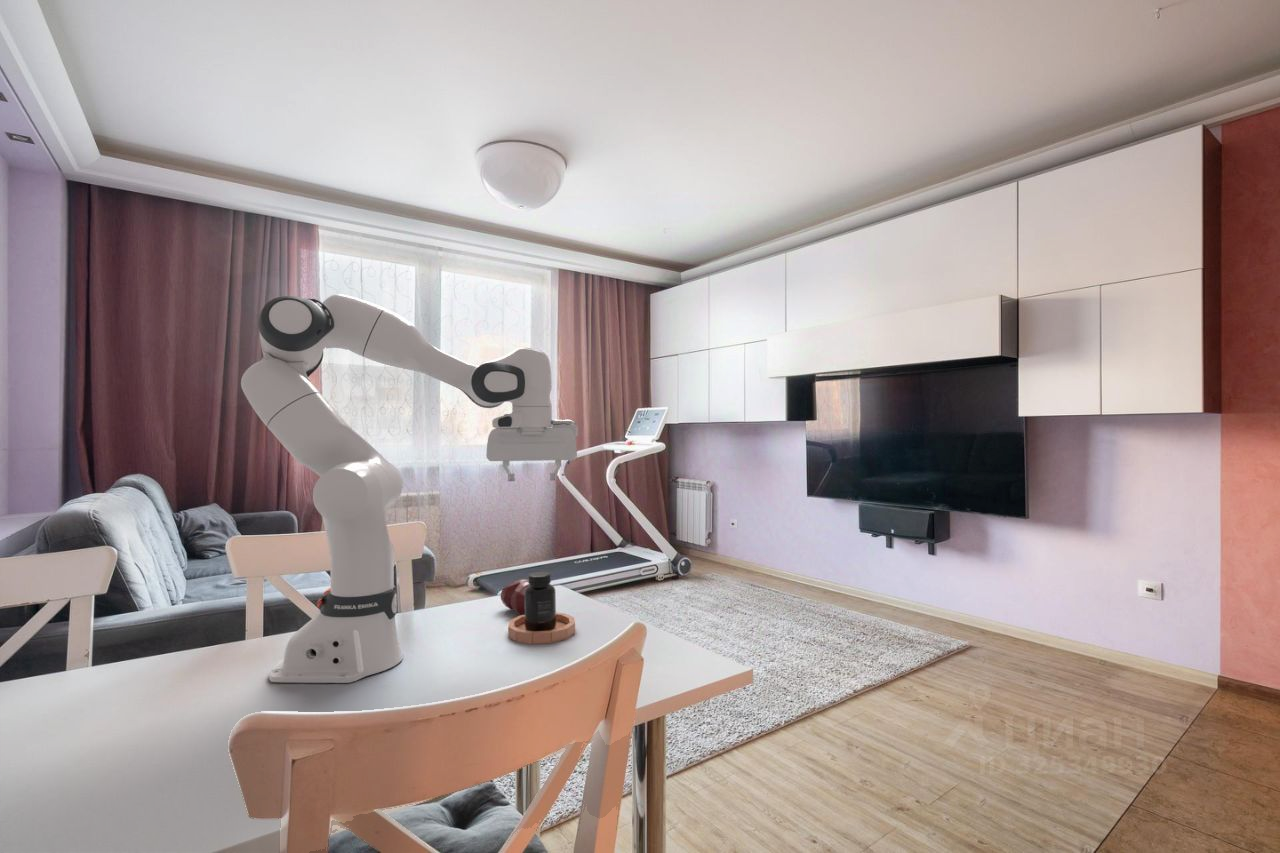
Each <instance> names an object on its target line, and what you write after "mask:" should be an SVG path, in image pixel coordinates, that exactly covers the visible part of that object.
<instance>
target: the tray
mask: <svg viewBox="0 0 1280 853" xmlns="http://www.w3.org/2000/svg"><path fill="white" fill-rule="evenodd" d="M575 621H576V620H575V617H574V616H571V615H569V614H567V613H562V612H556V627H555V628H554V629H553V630H550V631H527V630H526V629H525V615H521V614H520V615H518V616H516V617H514V618H512V619H510V620H509V621H508V628H507V630H508V631H507V632H508V633H507V638H509V637H510V638H509V639H511V640H513V641H515V642H516V643H522V644H530V645H538V644H551V643H556V642H560V641H563V640H567V639H569V638H570V637H571V636H573V635H575V634H576V622H575Z"/></svg>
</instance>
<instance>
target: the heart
mask: <svg viewBox="0 0 1280 853" xmlns="http://www.w3.org/2000/svg"><path fill="white" fill-rule="evenodd" d="M528 581H529V579H528V578H527V579H525V578H520V579H517V580H515V581H512V582H511V583H509V584H507V585H506V586H504V587H503V588H502V590H501V592H500V600H501V602H502V604H503V605H504V606H505V607H506V608H508V609H510V610H513V611H515V612H516V613H517V614H518V615H520V616H521V615H525V600H524V592H525V589H526V588H527V587H528V586H530V584H529V582H528Z"/></svg>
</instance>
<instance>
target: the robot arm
mask: <svg viewBox="0 0 1280 853" xmlns="http://www.w3.org/2000/svg"><path fill="white" fill-rule="evenodd" d="M257 326H258V330H259V343H260V347H261V351H262V354H263V355H262V356H263V357H262V358H260V360H259V361H256V362H255V363H253V364H251V365H250V366H249V367H248V368H247V369H245V372H244V373H243V375H242V376H241V380H240V385H241V386H240V387H241V390H242V392H243V394H244V396H245V398H246V400H247V401H248V403H249V404H250V406H251V408H252V409H253V410H254V411H255V413H256V414H257V416H258V418H259V419H260V420H261V421H262V423H263V424H264V425H265V426H266V428H267V429H268V430H269V431H270V432H271V433H272V435H274V437H275V438H276V439H277V440H278V442H279V444H281V445H282V446H283V447H284V448H285V450H286V451H287V452H288V453H289V454H290V455H291V457H293V459H294V460H295V461H296V462H298V463H299V464H301V465H303V466H305V467H307V468H308V469H309V470H311V471H312V472H314V473H315V474H316V475H318V477H319V478H318V479H317V481H316V482H315V484H314V486H313V489H312V502H313V504H314V507H315V509H316V510H317V512H318V513H319V514H320V516H321V518H322V522H323V527H324V529H325V535H326V538H327V539H326V540H327V543H328V549H329V558H330V559H329V560H330V561H329V565H330V566H329V568H330V569H329V570H330V587H328V589H327V590H325V591H324V592H323V595H322V596H320V597H319V599H318V601H316V602H317V605H316V608H319V611H320V612H319V613H317V615H315V616H314V617H313V618H311V619H310V620H309V621H307V622H306V623H305V624H304V625H302V627H300V628H299V629H298V630H297V631H296V632H294V633H293V635H292V636H291V637H290V638H289V640H288V642H287V644H286V647H285V651H284V656H283V658H281V659H280V660H279V661H277V662H276V663H275V664H274V665H273V667H272V668H271V669H270V670H269V675H268V676H269V677H268V679H269V681H270V683H297V684H299V683H301V684H302V683H303V684H304V683H311V684H312V683H313V684H314V683H315V684H317V683H319V684H321V683H322V684H328V683H329V684H330V683H331V684H348V683H354V682H356V681H358V680H361V679H362V678H365V677H368V676H370V675H374V674H379V673H380V672H384V671H386V670H389V669H391V668H392V667H395V666H396V665H398V664H399V663H400V662H401V661H402V660H403V658H404V654H403V652H402V649H401V645H400V642H399V637H398V631H397V623H396V615H397V609H398V596H397V595H398V594H397V586H396V585H395V584H394V581H395V580H394V577H395V576H394V575H395V574H394V573H395V572H394V571H395V570H394V567H395V566H394V546H393V542H392V541H391V538H390V535H389V531H388V527H387V526H388V525H387V522H386V516H385V515H386V510H389V509H390V508H391V507H392V506H394V505H395V503H396V502H397V501H398V499H399V498H400V496H401V494H402V491H403V488H404V479H403V476H402V473H401V472H400V471H399V469H398V468H397V467H396V466H395V465H393V464H392V463H390V461H388V460H387V459H386V458H384V456H383V455H382V454H380V453H379V451H378V450H376V449H375V447H373V446H372V445H371V444H370V443H369V442H368V441H366V439H364V437H362V436H361V435H360V434H359V433H357V432H356V431H355V430H354V429H353V428H352V427H351V426H350V425H349V424H348V423H347V422H346V421H345V420H344V418H342V416H341V415H340V414H339V413H338V412H337V411H336V410H335V407H333V406H332V405H331V404H330V402H329V401H328V400H327V399H326V398H325V397H324V395H323V394H322V393H321V392H320V391H319V390H318V389H317V387H316V386H315V385H314V384H313V383H312V382H311V379H310V378H309V377H311V375H312V374H313V373H314V372H315V371H316V370H317V369H318V368H319V367H320V366H321V364H322V361H323V358H324V349H343V350H346V351H347V350H349V351H350V352H352V353H354V354H356V355H359V356H361V357H364V358H365V359H368V360H370V361H373V362H376V363H379V364H383V365H386V366H390V367H393V368H394V367H395V368H397V369H398V368H399V369H405V370H409V371H414V372H417V373H422V374H425V375H427V376H429V377H432V378H434V379H437V380H438V381H441V382H443V383H445V384H447V385H450V386H453V387H455V388H457V389H459V390H460V391H461V392H463V393H464V395H466V397H468V399H469V400H470V401H471V402H472V403H474V404H475V405H477V406H478V407H481V408H483V409H493V408H497V407H499V406H501V405H502V404H504V403H505V402H506V403H509V402H510V403H511V405H512V406H511V408H512V409H511V410H512V411H511V413H505V414H503V415H501V416H497V417H495V418H493V419H492V420H491V421H492V424H491V426H492V427H493V428H494V429H492V430H491V431H490V432H489V435H488V437H487V443H486V459H487V460H488V461H489V462H502V467H503V469H504V471H505V472H506V474H507V482H515V481H516V479H515V476H516V475H515V474H516V473H515V472H511V470H510V469H509V466H510V462H521V461H523V462H524V461H525V462H526V461H528V462H530V461H532V462H533V461H535V462H538V461H542V462H543V461H554V465H555V466H556V467H555V469H554V471H553V472H550V473H549V480H550V481H558V479H557V478H558V472H559V471H560V469H561V467H562V461H574V460H575V459H576V458H577V457H578V448H577V441H576V439H577V437H578V436H579V426H578V424H577V423H576V422H574V421H572V419H565V420H564V419H563V420H562V419H552V417H553V414H552V413H553V412H552V410H553V409H552V408H553V406H552V402H551V392H552V386H553V385H552V370H551V363H550V359H549V356H548V355H547V354H546V353H545V352H544V351H541V350H539V349H536V348H531V347H524V346H523V347H516V348H515V349H514V350H513V351H511V352H510V353H508V354H505V355H504V356H502V357H500V358H496V359H493V360H489V361H486V362H483V363H481V364H479V365H476V364H471V363H468V362H466V361H464V360H461V359H459V358H458V357H455V356H454V355H451V354H448V353H447V352H445V351H443V350H441V349H439V348H437V347H435V346H434V345H433V344H432V343H430V342H429V341H428V339H427V338H426V337H425V336H424V335H423V334H422V332H421V331H420V330H419V328H418V327H417V326H416V325H414V324H413V323H412V322H410V321H409V320H407V319H406V318H404V317H402V316H401V315H399V314H397V313H396V312H393V311H391V310H389V309H387V308H385V307H382V306H380V305H378V304H375V303H372V302H369V301H367V300H363V299H360V298H357V297H353V296H349V295H346V294H341V293H340V294H338V293H337V294H333V295H330V296H329V297H326V299H325V300H323V301H320V300H319V299H316V298H305V297H304V298H303V297H300V296H293V295H284V296H279V297H275V298H273V299H271V300H269V301H268V302H267V303H266V304H265V305H264V306H263V307H262V309H261V311H260V314H259V317H258V322H257Z"/></svg>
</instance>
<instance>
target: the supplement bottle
mask: <svg viewBox="0 0 1280 853" xmlns="http://www.w3.org/2000/svg"><path fill="white" fill-rule="evenodd" d="M551 576H552V575H551V573H550V572H547V571H538V572H537V571H536V572H531V573H529V575H528V580H529V581H528V582H529V584H530V586H528V587H527V588H526V589H525V592H524V600H525V629H526V630H527V631H550V630H553V629H554V628H555V627H556V613H557V601H556V600H557V599H556V589H555V586H553V585H552V584H551V582H552V578H551Z"/></svg>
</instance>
